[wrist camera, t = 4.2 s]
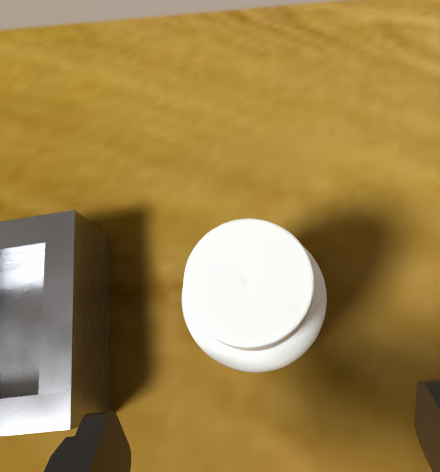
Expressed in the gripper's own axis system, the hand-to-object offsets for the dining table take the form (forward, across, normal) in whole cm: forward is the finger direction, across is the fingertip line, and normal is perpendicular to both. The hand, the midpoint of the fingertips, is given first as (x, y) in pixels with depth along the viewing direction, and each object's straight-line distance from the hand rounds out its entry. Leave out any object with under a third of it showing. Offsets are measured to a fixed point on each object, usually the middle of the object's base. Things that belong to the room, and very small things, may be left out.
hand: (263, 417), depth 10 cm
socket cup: (+10, +13, +4) cm, 17 cm away
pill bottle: (+10, 0, +4) cm, 11 cm away
